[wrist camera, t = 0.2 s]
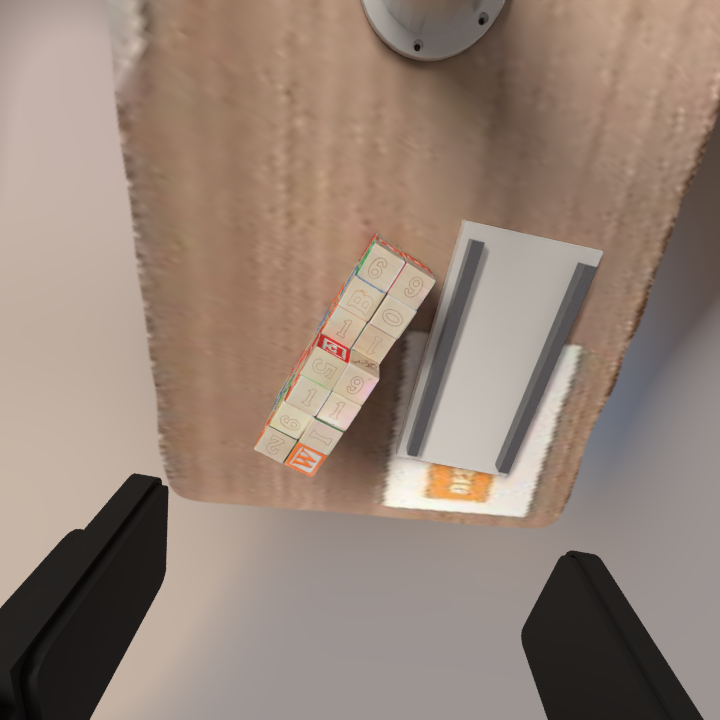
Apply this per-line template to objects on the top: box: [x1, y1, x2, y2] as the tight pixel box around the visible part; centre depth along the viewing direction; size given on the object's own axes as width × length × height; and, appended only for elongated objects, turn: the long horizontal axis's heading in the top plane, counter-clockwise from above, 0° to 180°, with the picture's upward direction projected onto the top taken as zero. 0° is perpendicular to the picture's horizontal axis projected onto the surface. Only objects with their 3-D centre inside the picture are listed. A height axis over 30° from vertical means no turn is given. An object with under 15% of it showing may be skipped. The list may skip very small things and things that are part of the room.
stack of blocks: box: [254, 233, 436, 477], centre depth 40 cm, size 21×6×12 cm, turn 149°
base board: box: [396, 220, 604, 477], centre depth 45 cm, size 28×14×3 cm, turn 168°
